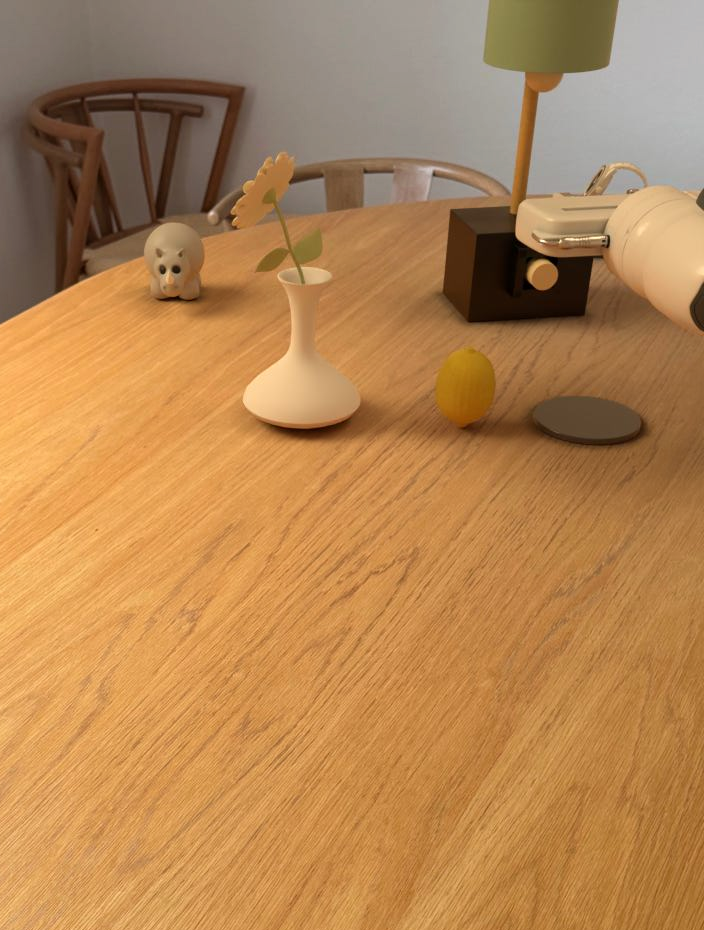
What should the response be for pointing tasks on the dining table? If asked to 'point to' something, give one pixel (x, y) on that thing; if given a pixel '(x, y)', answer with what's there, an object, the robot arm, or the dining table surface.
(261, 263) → the flower in vase
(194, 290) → the round bodied animal figurine
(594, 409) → the coaster
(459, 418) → the lemon
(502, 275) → the desk lamp
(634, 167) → the watch
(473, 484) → the dining table surface
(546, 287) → the lamp switch
